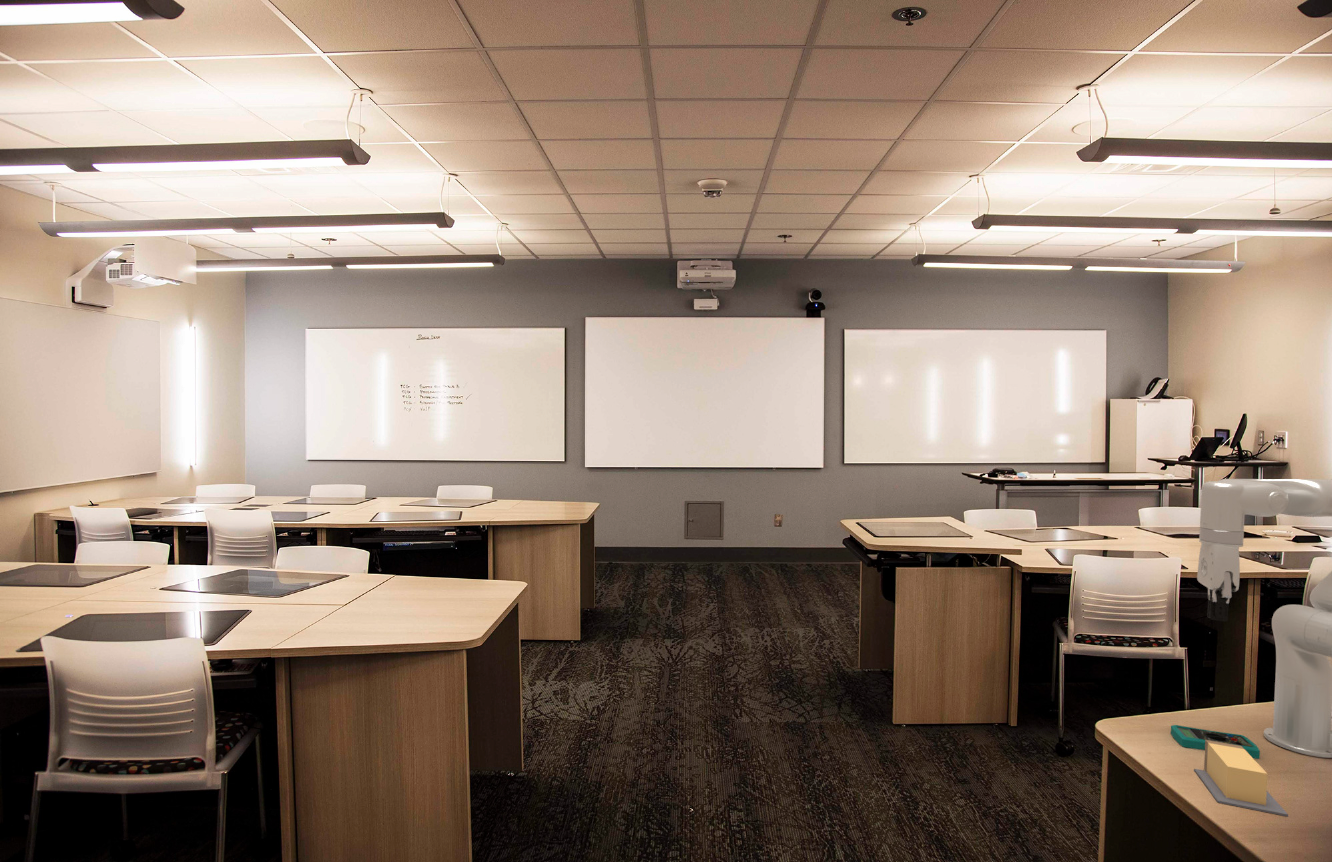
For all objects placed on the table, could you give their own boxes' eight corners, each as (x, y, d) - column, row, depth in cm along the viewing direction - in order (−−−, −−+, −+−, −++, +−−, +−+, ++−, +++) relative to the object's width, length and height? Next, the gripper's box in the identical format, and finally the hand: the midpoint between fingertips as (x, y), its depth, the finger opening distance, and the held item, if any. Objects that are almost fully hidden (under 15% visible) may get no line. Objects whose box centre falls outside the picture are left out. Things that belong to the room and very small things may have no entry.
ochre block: (1241, 745, 138) (1267, 773, 126) (1240, 774, 138) (1266, 804, 127) (1205, 739, 140) (1227, 766, 129) (1204, 768, 140) (1226, 797, 129)
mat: (1257, 782, 136) (1257, 780, 136) (1288, 816, 124) (1288, 814, 124) (1194, 770, 140) (1194, 768, 140) (1217, 802, 128) (1217, 800, 128)
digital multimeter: (1263, 761, 145) (1263, 748, 145) (1181, 748, 150) (1181, 735, 150) (1246, 746, 152) (1247, 733, 152) (1168, 734, 157) (1169, 722, 157)
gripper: (1189, 531, 157) (1185, 608, 157) (1212, 540, 143) (1208, 626, 144) (1228, 534, 154) (1225, 613, 154) (1256, 544, 140) (1253, 631, 141)
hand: (1217, 619), depth 149 cm, fingers closed
